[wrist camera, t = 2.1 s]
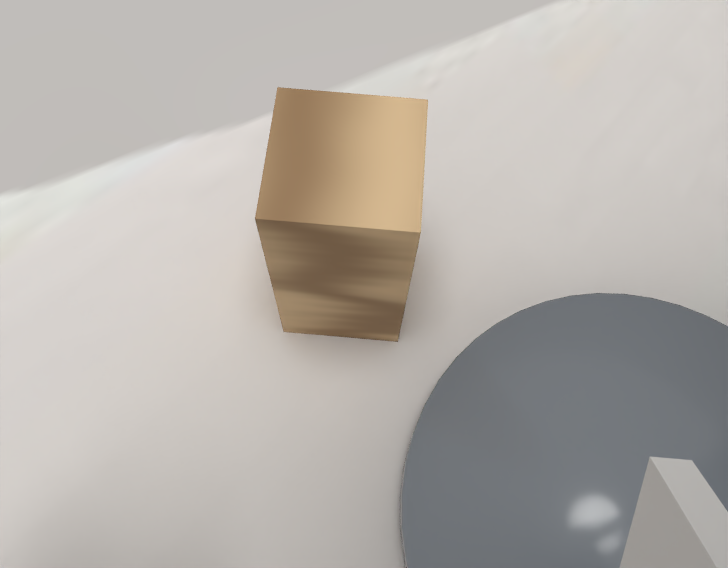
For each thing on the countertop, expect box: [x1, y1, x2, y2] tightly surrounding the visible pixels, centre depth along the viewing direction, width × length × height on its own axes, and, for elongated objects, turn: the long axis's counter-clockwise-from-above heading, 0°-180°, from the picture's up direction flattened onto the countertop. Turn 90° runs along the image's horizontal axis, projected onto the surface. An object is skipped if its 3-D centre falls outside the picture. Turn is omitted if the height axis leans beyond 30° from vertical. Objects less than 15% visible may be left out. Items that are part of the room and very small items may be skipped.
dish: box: [400, 293, 728, 568], centre depth 26 cm, size 18×18×2 cm
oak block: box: [255, 87, 428, 342], centre depth 26 cm, size 5×5×10 cm
